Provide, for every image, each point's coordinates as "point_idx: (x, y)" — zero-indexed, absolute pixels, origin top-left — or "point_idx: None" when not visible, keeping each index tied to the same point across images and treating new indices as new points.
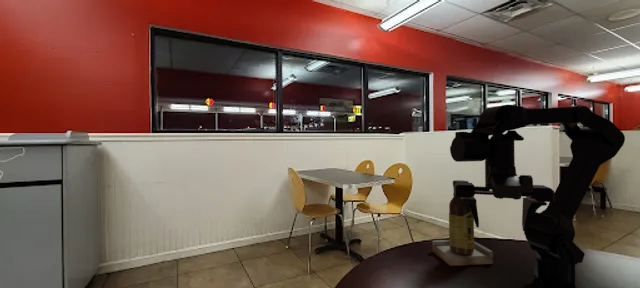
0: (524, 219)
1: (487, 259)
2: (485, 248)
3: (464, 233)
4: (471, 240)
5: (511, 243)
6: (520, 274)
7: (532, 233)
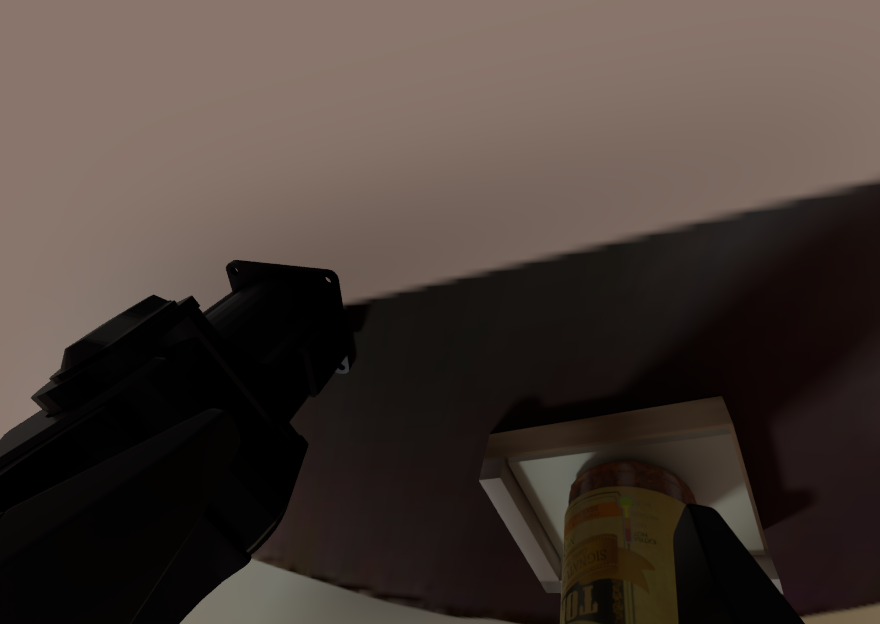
0: (123, 526)
1: (511, 445)
2: (504, 507)
3: (645, 581)
4: (590, 535)
5: (382, 576)
6: (402, 358)
7: (229, 478)
